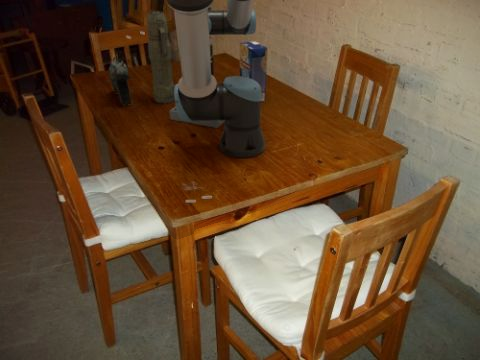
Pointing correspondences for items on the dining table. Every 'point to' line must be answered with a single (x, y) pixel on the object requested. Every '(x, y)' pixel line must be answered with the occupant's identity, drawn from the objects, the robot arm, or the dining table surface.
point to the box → (214, 124)
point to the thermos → (160, 57)
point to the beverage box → (254, 63)
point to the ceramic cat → (120, 80)
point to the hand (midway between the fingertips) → (204, 105)
